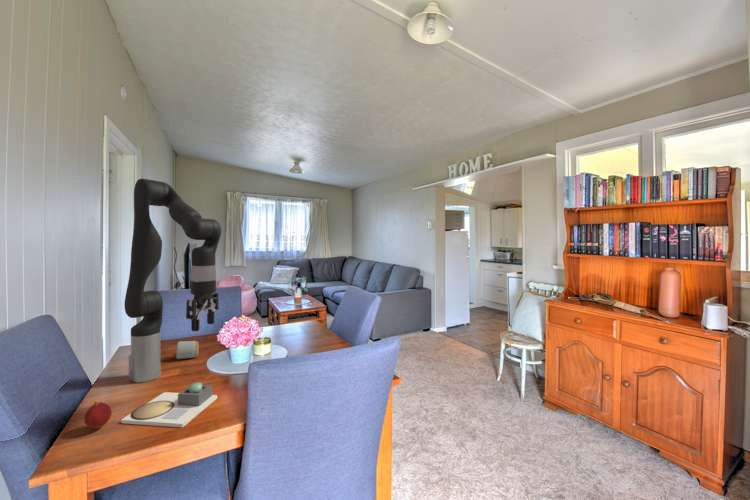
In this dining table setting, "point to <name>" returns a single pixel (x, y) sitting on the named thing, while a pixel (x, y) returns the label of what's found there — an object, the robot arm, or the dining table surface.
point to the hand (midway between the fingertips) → (203, 327)
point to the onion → (97, 415)
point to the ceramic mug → (187, 349)
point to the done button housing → (194, 396)
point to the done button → (195, 387)
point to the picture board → (166, 411)
